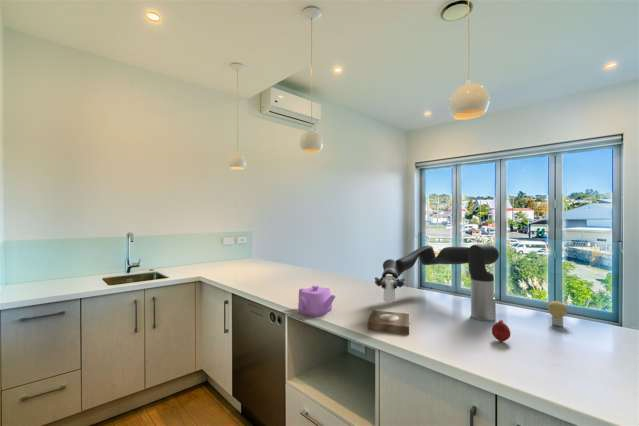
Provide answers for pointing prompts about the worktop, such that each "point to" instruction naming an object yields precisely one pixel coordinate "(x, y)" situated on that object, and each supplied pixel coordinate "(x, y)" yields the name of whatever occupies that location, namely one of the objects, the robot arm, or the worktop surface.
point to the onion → (501, 331)
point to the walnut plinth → (389, 322)
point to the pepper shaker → (389, 289)
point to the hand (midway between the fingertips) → (388, 286)
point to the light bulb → (557, 312)
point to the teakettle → (315, 301)
